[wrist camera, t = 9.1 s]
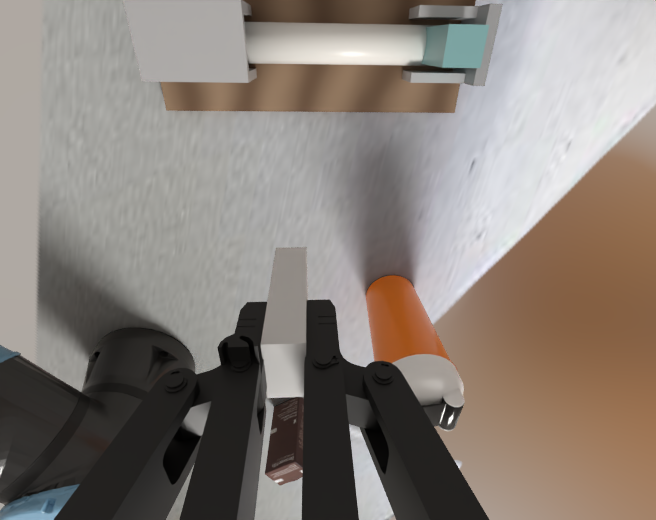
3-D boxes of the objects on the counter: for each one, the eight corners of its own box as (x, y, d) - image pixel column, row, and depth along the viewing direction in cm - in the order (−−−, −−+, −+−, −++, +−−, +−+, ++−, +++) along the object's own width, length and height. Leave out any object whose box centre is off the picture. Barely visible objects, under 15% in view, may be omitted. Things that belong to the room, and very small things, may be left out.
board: (170, 108, 37) (166, 110, 36) (140, -39, 31) (134, -42, 30) (450, 110, 38) (454, 112, 37) (476, -31, 32) (481, -34, 31)
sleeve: (164, 76, 34) (141, 81, 30) (149, 3, 31) (121, -4, 27) (256, 77, 35) (248, 82, 30) (251, 5, 32) (240, -1, 27)
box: (298, 393, 62) (295, 462, 52) (313, 406, 64) (313, 475, 54) (271, 405, 64) (263, 475, 53) (286, 418, 66) (281, 487, 55)
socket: (401, 79, 35) (416, 85, 30) (409, 8, 32) (427, 2, 27) (460, 80, 36) (484, 85, 31) (473, 9, 33) (502, 3, 28)
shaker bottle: (357, 273, 49) (381, 395, 32) (421, 265, 49) (479, 384, 32) (361, 321, 54) (384, 450, 37) (419, 314, 53) (470, 441, 36)
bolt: (245, 62, 34) (226, 67, 27) (241, 22, 32) (220, 16, 25) (444, 65, 35) (479, 71, 27) (450, 26, 33) (490, 21, 26)
